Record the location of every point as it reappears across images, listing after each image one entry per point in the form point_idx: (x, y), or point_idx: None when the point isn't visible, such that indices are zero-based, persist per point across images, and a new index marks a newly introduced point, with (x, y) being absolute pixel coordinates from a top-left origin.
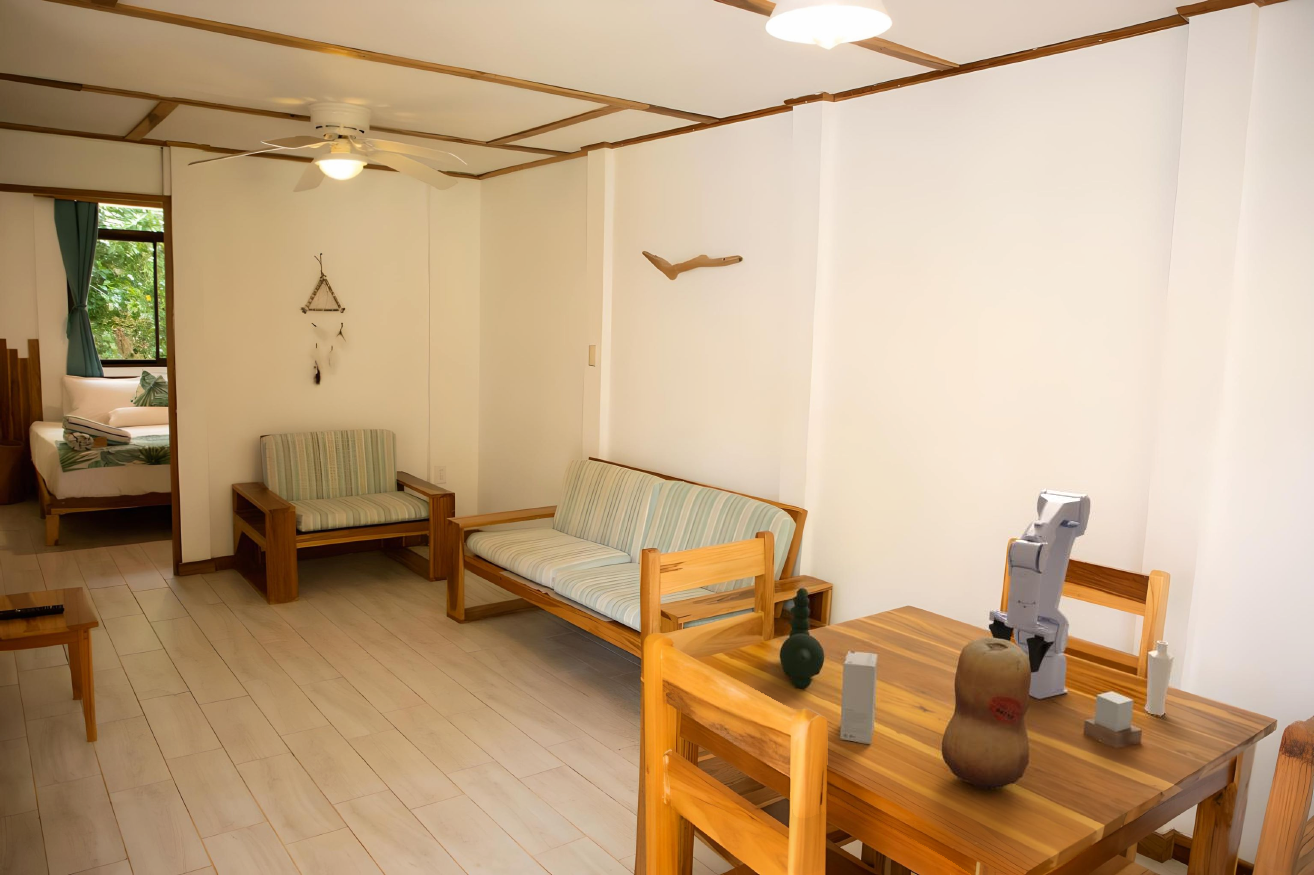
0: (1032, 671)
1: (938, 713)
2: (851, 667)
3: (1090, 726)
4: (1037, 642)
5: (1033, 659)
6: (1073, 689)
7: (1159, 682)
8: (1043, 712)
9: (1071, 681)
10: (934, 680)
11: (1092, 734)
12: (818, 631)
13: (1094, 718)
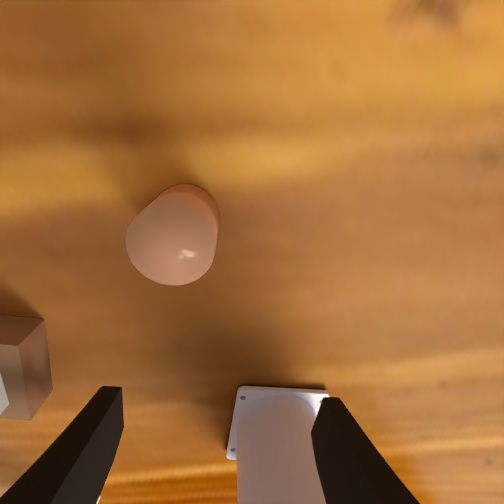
0: (95, 395)
1: (373, 20)
2: None
3: (3, 335)
4: None
5: (15, 483)
6: (232, 470)
7: None
8: (183, 337)
9: None
10: (489, 268)
11: (8, 320)
12: None
13: (20, 374)
